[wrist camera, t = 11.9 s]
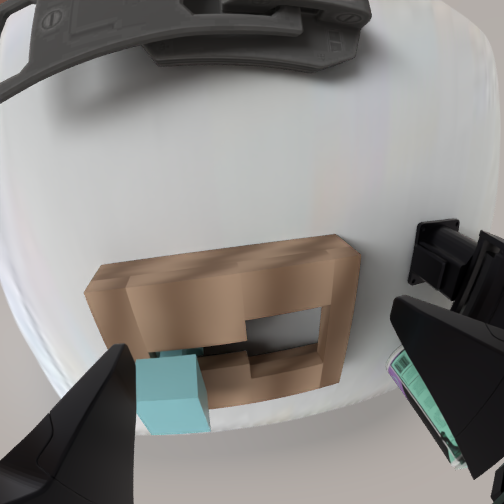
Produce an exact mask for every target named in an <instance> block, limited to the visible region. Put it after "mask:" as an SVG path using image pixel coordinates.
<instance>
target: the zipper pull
mask: <svg viewBox="0 0 504 504" xmlns="http://www.w3.org/2000/svg"><path fill="white" fill-rule="evenodd" d="M31 4H36V8H35V13H34V19H33V25H32V32H31V41H30V50H29V62H28V64H27V65H26V66H25V67H24V68H23V69H22V71H21V72H20V73H19V74H17V75H15V76H13V77H11V78H9V79H7V80H5V81H3V82H1V83H0V104H1V103H2V102H4V101H6V100H7V99H9V98H11V97H13V96H14V95H16V94H18V93H20V92H21V91H23V90H25V89H27V88H28V87H30V86H32V85H34V84H36V83H37V82H39V81H41V80H44V79H46V78H48V77H50V76H52V75H54V74H56V73H59V72H61V71H63V70H66V69H68V68H70V67H73V66H75V65H78V64H81V63H83V62H86V61H89V60H92V59H94V58H97V57H100V56H103V55H106V54H110V53H113V52H116V51H120V50H123V49H127V48H130V47H134V46H138V45H141V46H142V47H143V48H144V49H145V50H146V52H147V53H148V54H149V55H150V57H151V58H152V59H153V60H154V61H155V63H156V64H157V65H158V66H179V65H210V64H216V65H248V66H262V67H273V68H281V69H288V70H295V71H301V72H307V73H313V72H316V71H319V70H322V69H325V68H328V67H331V66H334V65H337V64H340V63H343V62H345V61H348V60H350V59H353V58H354V57H355V55H356V51H357V46H358V41H359V36H360V30H361V28H363V27H364V26H365V25H366V24H367V23H368V22H369V21H370V19H371V17H372V14H371V9H370V5H369V1H368V0H8V1H6V2H4V3H2V4H0V36H1V32H2V30H3V27H4V25H5V22H6V20H7V18H8V17H9V16H10V15H11V14H13V13H15V12H17V11H19V10H21V9H23V8H25V7H27V6H29V5H31Z"/></svg>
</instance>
